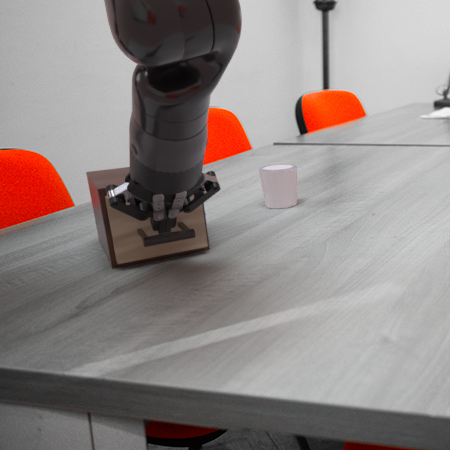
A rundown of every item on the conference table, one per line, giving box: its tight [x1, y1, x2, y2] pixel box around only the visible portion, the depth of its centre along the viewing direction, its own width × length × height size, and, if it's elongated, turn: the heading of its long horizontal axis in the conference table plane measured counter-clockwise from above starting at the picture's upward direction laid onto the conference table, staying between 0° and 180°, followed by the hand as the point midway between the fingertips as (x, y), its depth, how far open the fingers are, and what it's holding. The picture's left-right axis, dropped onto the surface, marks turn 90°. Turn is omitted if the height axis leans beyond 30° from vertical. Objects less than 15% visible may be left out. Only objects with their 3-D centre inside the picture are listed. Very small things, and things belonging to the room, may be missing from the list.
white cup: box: [258, 163, 298, 210], centre depth 103 cm, size 7×7×7 cm
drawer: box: [105, 194, 208, 264], centre depth 78 cm, size 20×11×9 cm, turn 33°
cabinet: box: [85, 166, 211, 269], centre depth 82 cm, size 15×13×11 cm
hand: (162, 227), depth 74 cm, fingers closed
